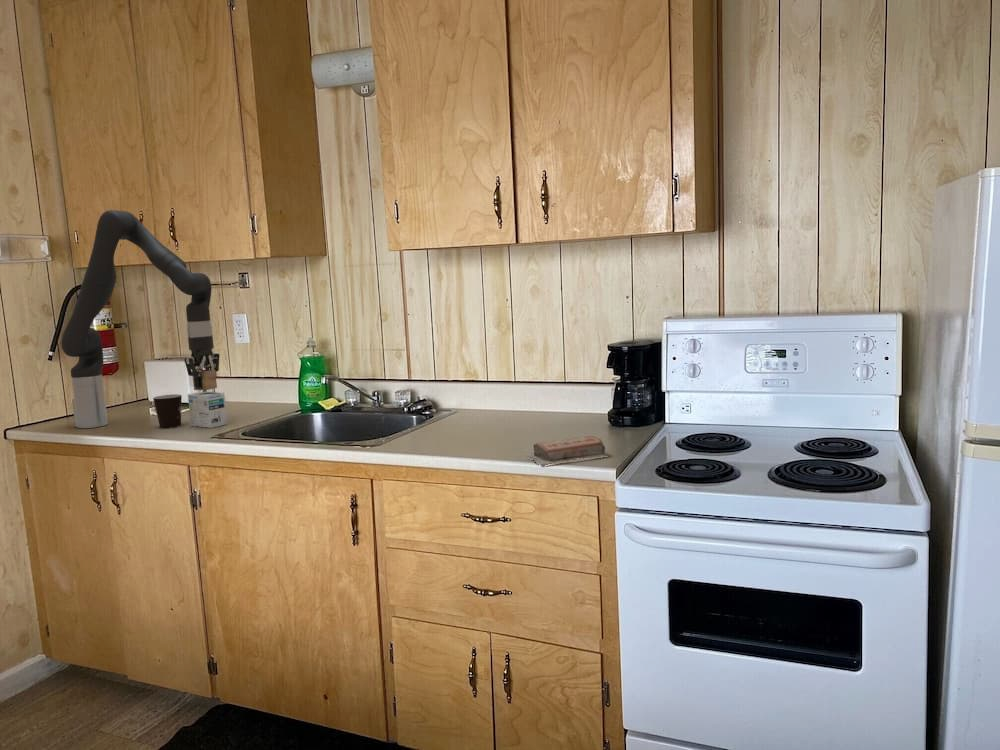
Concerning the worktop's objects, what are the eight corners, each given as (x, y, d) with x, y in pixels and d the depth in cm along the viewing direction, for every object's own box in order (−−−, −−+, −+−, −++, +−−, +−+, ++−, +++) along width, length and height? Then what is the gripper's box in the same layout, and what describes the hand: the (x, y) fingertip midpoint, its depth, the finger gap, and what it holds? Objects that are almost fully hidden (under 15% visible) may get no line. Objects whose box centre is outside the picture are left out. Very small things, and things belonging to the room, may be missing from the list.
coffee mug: (174, 429, 248) (171, 398, 246) (150, 429, 249) (147, 398, 248) (195, 421, 259) (192, 392, 257) (172, 422, 261) (169, 393, 259)
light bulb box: (228, 424, 251) (225, 392, 250) (210, 428, 246) (207, 395, 244) (207, 422, 257) (204, 390, 256) (189, 426, 251) (186, 393, 250)
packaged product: (590, 432, 194) (609, 440, 185) (590, 451, 195) (609, 459, 185) (524, 440, 188) (541, 449, 178) (525, 459, 188) (541, 469, 179)
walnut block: (194, 390, 248) (192, 371, 248) (204, 387, 253) (203, 369, 252) (206, 390, 247) (204, 371, 246) (217, 387, 251) (215, 369, 250)
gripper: (206, 333, 255) (211, 383, 258) (174, 337, 242) (180, 390, 244) (224, 333, 253) (229, 383, 255) (193, 337, 239) (198, 390, 242)
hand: (205, 386), depth 250 cm, fingers closed on walnut block, 5 cm apart
